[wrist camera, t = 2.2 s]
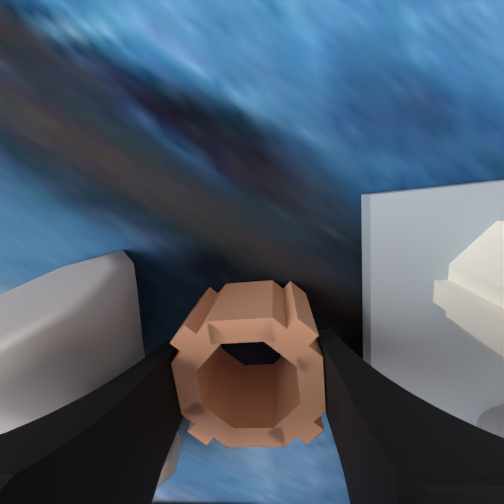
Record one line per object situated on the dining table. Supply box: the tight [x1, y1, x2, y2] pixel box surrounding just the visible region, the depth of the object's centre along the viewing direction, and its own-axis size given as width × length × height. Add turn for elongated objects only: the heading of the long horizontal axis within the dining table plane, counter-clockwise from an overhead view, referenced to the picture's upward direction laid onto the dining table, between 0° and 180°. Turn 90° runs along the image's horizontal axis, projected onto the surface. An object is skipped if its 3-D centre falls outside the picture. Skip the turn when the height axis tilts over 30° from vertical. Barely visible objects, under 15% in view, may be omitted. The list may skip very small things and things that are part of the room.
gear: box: [170, 280, 326, 447], centre depth 11 cm, size 5×5×4 cm
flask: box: [0, 250, 183, 489], centre depth 11 cm, size 7×7×10 cm
